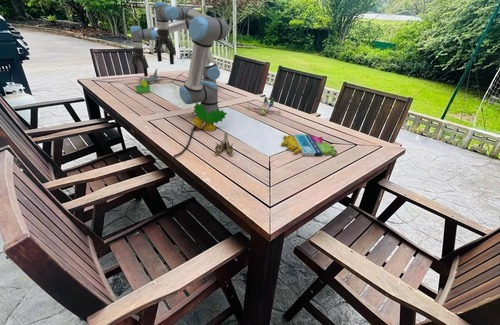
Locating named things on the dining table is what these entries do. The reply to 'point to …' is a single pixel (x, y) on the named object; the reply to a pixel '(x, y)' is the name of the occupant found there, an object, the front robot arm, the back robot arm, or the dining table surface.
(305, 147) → the colourful gloves pack
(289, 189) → the dining table surface
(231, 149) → the jawbone
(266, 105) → the toy
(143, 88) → the green box with toys
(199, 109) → the ornament
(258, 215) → the dining table surface
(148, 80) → the airplane
